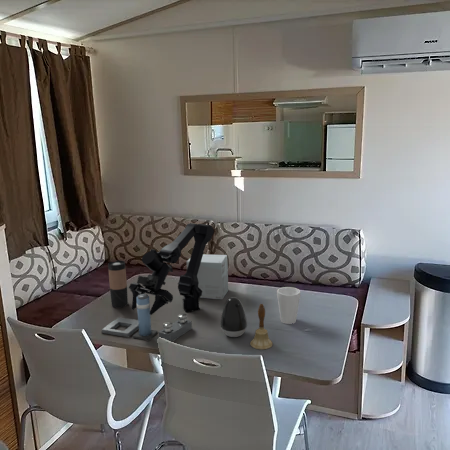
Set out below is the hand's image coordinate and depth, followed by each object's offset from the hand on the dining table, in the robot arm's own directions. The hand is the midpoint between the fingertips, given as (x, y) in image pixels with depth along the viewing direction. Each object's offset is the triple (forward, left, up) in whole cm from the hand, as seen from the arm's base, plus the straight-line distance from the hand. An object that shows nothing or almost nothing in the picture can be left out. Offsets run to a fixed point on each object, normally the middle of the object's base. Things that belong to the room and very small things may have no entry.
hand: (141, 312), depth 174 cm
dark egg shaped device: (-34, +10, -10) cm, 37 cm away
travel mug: (+6, -36, -10) cm, 38 cm away
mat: (-1, -1, -10) cm, 10 cm away
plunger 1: (-9, +5, -9) cm, 13 cm away
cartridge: (-1, -1, -9) cm, 10 cm away
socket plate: (+7, -10, -10) cm, 16 cm away
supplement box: (-36, -35, -11) cm, 51 cm away
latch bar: (-13, +2, -10) cm, 16 cm away
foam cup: (-59, +6, -10) cm, 60 cm away
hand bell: (-41, +21, -10) cm, 47 cm away
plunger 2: (-16, -1, -9) cm, 18 cm away
